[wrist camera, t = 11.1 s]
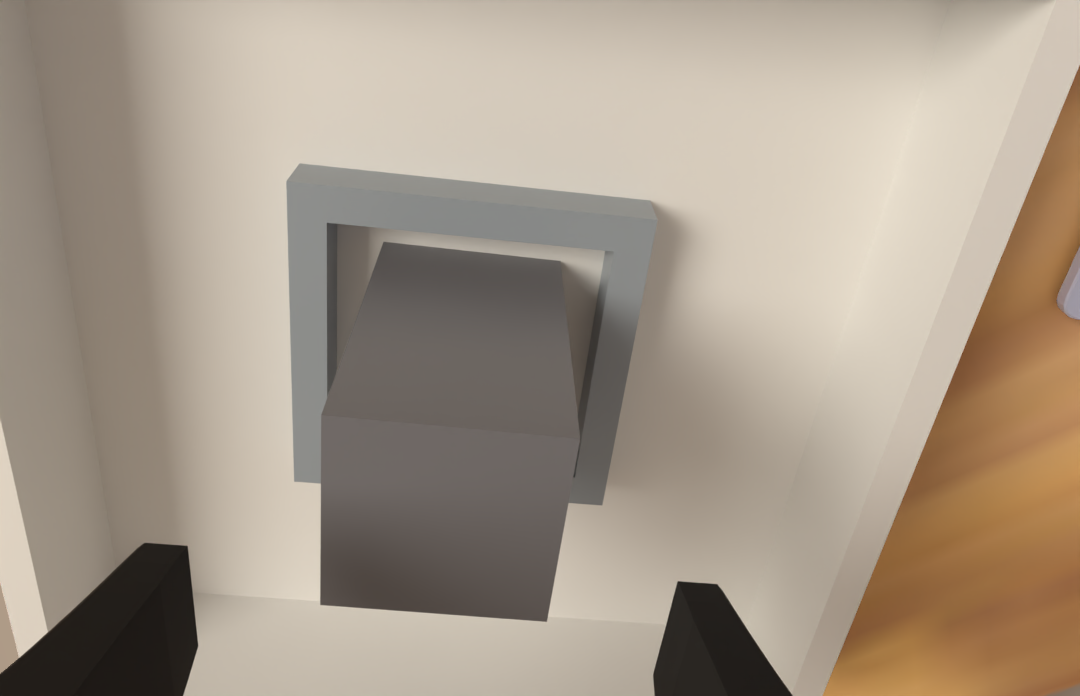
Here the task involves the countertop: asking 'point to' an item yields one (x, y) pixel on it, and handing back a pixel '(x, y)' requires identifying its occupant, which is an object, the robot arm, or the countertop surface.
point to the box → (508, 229)
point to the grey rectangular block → (450, 438)
